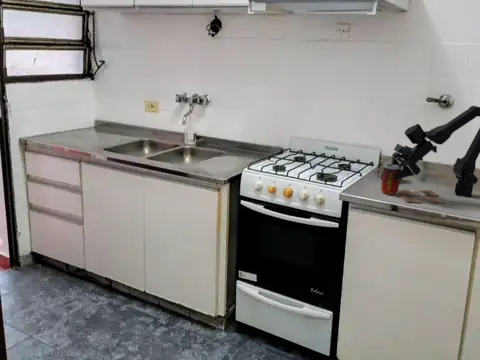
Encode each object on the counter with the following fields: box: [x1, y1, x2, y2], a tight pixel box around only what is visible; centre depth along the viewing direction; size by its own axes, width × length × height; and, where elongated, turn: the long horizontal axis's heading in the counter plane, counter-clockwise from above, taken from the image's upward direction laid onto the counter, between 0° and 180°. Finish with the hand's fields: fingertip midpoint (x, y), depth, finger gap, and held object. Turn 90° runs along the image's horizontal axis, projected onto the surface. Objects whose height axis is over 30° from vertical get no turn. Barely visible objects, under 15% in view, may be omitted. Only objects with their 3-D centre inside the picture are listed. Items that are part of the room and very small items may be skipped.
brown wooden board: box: [397, 189, 440, 198], centre depth 217 cm, size 16×7×1 cm, turn 95°
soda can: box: [380, 163, 402, 196], centre depth 215 cm, size 7×7×12 cm
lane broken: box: [399, 195, 446, 205], centre depth 208 cm, size 16×7×1 cm, turn 95°
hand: (390, 176), depth 214 cm, fingers open, 9 cm apart
